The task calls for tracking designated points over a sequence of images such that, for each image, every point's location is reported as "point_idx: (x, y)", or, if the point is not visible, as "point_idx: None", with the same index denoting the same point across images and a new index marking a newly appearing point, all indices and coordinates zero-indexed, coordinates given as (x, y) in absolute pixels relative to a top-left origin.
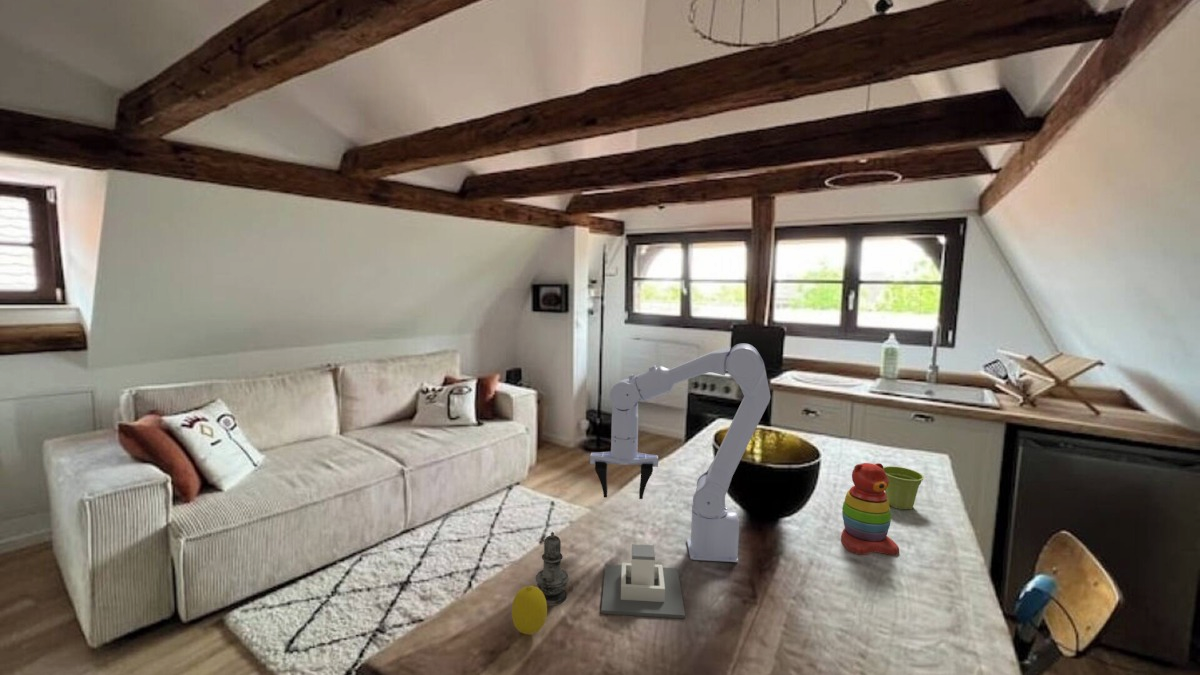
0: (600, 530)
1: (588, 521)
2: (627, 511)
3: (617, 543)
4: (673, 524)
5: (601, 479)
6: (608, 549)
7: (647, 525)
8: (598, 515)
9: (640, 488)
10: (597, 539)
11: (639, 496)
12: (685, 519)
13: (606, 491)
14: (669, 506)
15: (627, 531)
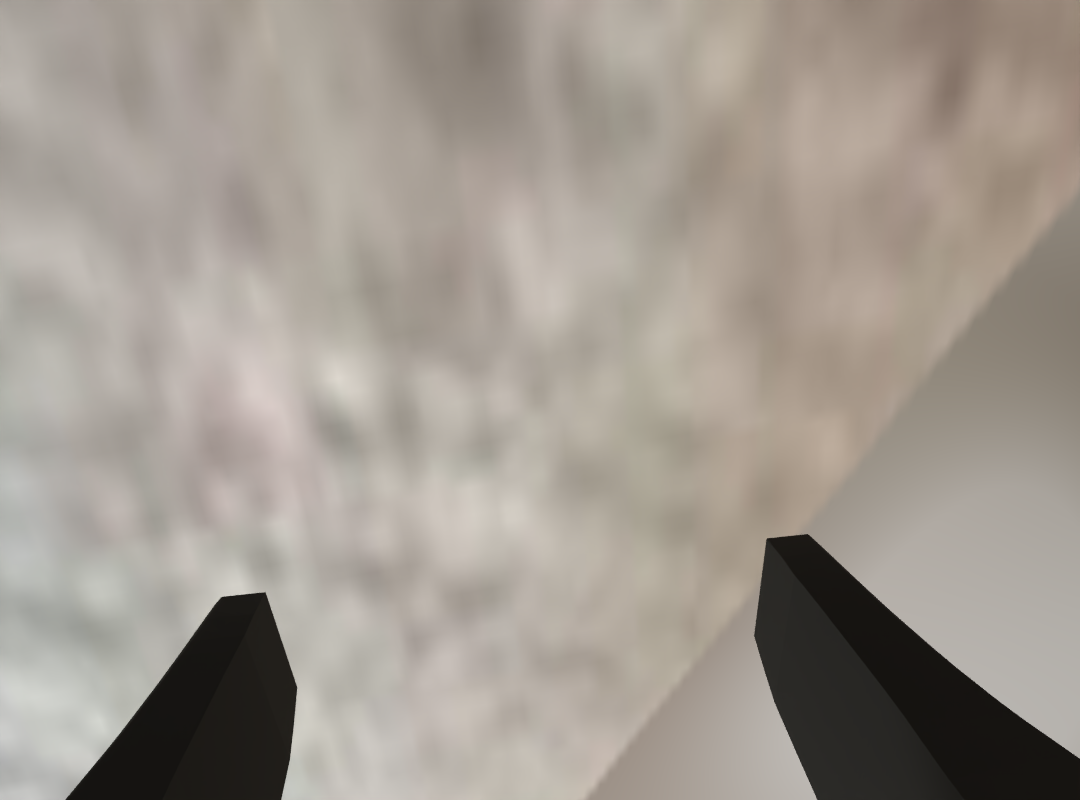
0: (687, 400)
1: (783, 505)
2: (496, 677)
3: (526, 220)
4: (108, 591)
5: (1062, 775)
6: (603, 93)
7: (312, 540)
8: (707, 593)
9: (191, 735)
10: (711, 256)
11: (251, 617)
12: (37, 668)
13: (817, 597)
14: None
15: (461, 428)
